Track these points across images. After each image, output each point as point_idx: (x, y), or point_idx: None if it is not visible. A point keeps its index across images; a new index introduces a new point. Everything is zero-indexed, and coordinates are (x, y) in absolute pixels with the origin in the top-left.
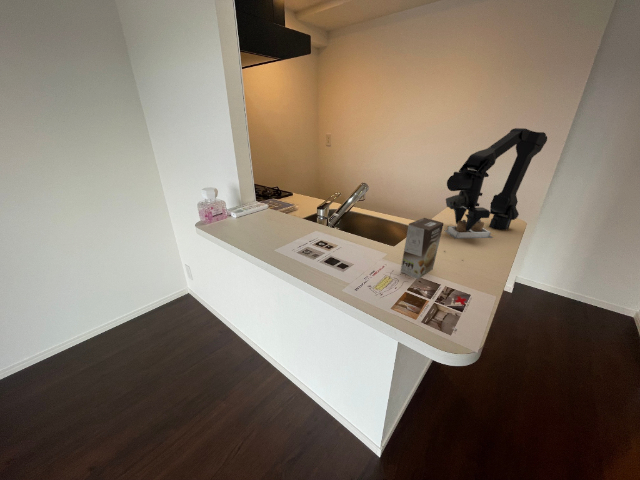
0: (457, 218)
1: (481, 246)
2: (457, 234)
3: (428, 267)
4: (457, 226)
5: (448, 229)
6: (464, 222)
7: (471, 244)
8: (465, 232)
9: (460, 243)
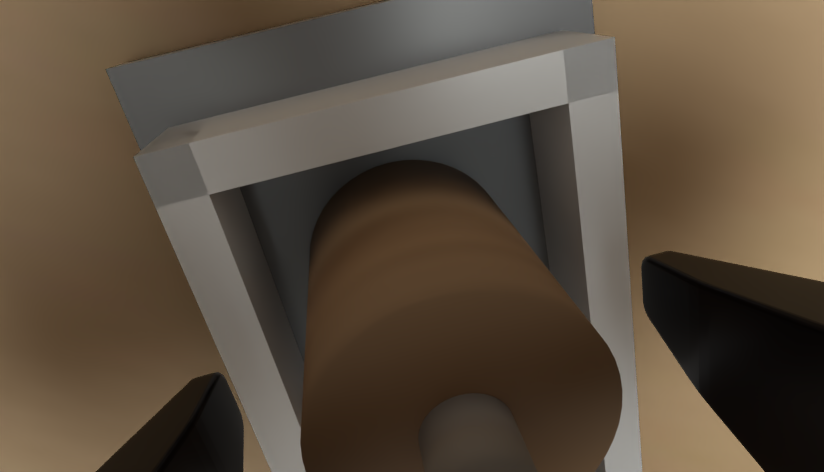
0: (764, 337)
1: (40, 453)
2: (148, 148)
3: None
4: (422, 230)
5: (542, 43)
6: (422, 460)
7: (64, 336)
8: (248, 344)
9: (27, 159)
